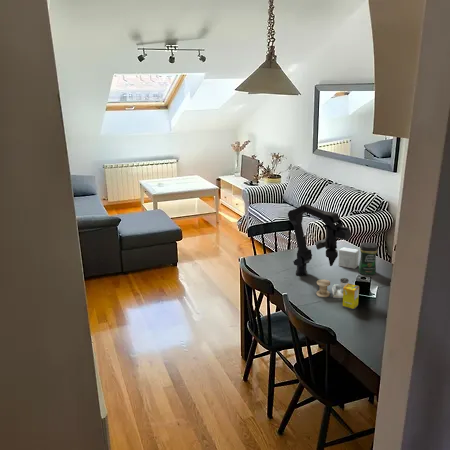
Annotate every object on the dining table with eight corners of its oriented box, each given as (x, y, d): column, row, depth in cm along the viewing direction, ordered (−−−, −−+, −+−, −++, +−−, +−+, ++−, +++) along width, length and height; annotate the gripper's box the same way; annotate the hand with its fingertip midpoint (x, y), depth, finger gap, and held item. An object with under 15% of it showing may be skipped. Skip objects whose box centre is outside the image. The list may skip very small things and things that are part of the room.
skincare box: (358, 265, 263) (359, 249, 259) (354, 269, 258) (355, 252, 254) (341, 262, 268) (342, 246, 265) (338, 265, 263) (338, 249, 260)
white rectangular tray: (332, 288, 233) (332, 283, 232) (355, 290, 231) (355, 284, 230) (333, 297, 224) (333, 292, 223) (356, 298, 222) (357, 293, 221)
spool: (316, 291, 232) (316, 279, 230) (329, 291, 230) (330, 279, 228) (316, 296, 225) (316, 284, 223) (330, 297, 224) (330, 285, 222)
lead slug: (347, 290, 229) (348, 278, 227) (348, 293, 225) (349, 281, 223) (339, 289, 229) (340, 278, 227) (340, 293, 226) (340, 281, 223)
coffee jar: (359, 275, 249) (361, 245, 243) (357, 269, 256) (359, 240, 251) (376, 275, 247) (379, 245, 242) (374, 270, 255) (376, 240, 249)
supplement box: (347, 302, 218) (348, 283, 215) (358, 305, 214) (359, 285, 211) (342, 307, 214) (342, 287, 210) (353, 310, 210) (354, 290, 207)
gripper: (316, 230, 242) (315, 256, 247) (316, 241, 224) (315, 268, 229) (336, 230, 240) (335, 256, 244) (338, 242, 222) (337, 269, 227)
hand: (330, 262), depth 236 cm, fingers open, 9 cm apart
